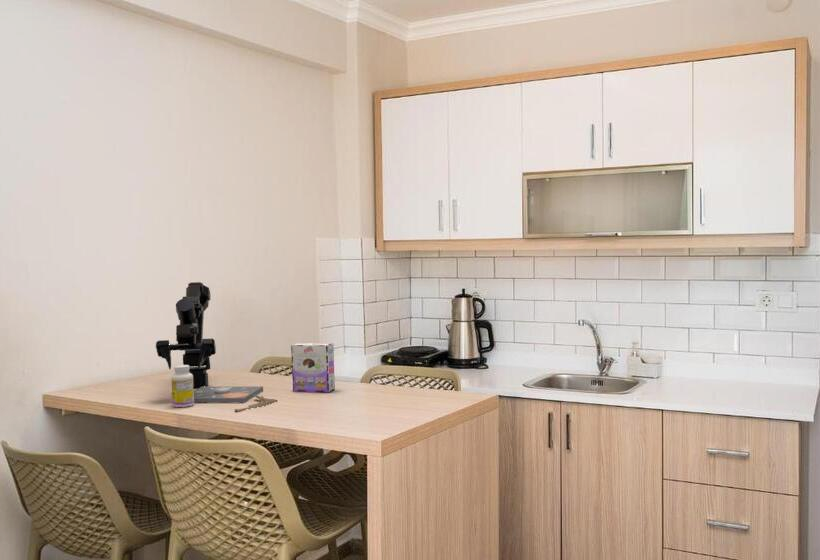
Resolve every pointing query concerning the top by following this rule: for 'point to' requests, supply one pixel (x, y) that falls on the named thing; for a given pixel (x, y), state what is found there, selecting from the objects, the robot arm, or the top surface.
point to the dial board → (225, 394)
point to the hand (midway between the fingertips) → (184, 367)
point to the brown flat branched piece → (263, 403)
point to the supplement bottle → (182, 387)
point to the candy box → (313, 367)
